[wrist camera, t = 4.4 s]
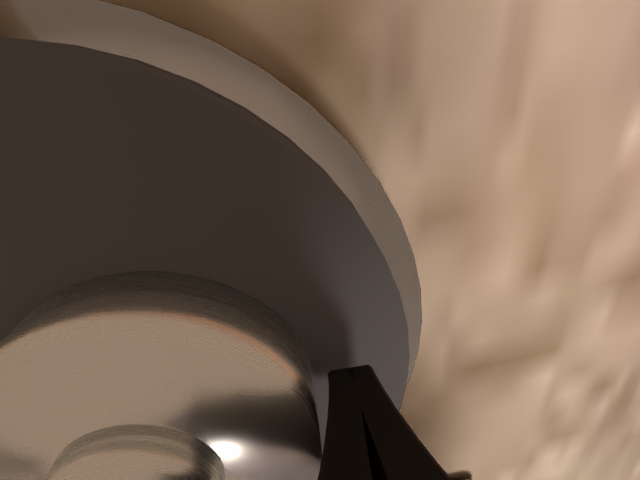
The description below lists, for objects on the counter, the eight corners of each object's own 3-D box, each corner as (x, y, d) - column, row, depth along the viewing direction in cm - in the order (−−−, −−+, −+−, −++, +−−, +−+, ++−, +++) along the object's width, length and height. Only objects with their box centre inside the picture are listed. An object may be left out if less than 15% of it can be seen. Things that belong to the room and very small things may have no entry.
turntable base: (406, 464, 19) (414, 488, 18) (-16, 538, 18) (-36, 569, 17) (419, -48, 9) (439, -65, 8) (-554, 44, 8) (-689, 41, 7)
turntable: (395, 482, 17) (405, 517, 16) (-26, 556, 16) (-54, 601, 15) (395, -123, 7) (423, -166, 6) (-712, -31, 6) (-988, -57, 5)
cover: (323, 457, 13) (338, 578, 10) (79, 496, 13) (14, 637, 10) (297, 250, 9) (307, 345, 6) (-66, 295, 9) (-262, 426, 5)
